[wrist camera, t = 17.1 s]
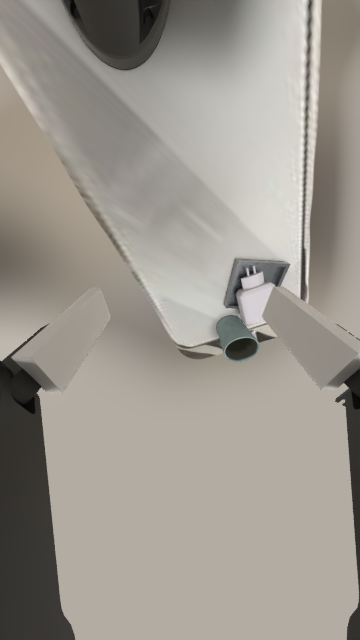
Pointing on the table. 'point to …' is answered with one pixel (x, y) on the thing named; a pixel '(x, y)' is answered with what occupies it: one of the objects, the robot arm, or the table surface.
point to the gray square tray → (271, 273)
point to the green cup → (236, 339)
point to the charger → (253, 297)
